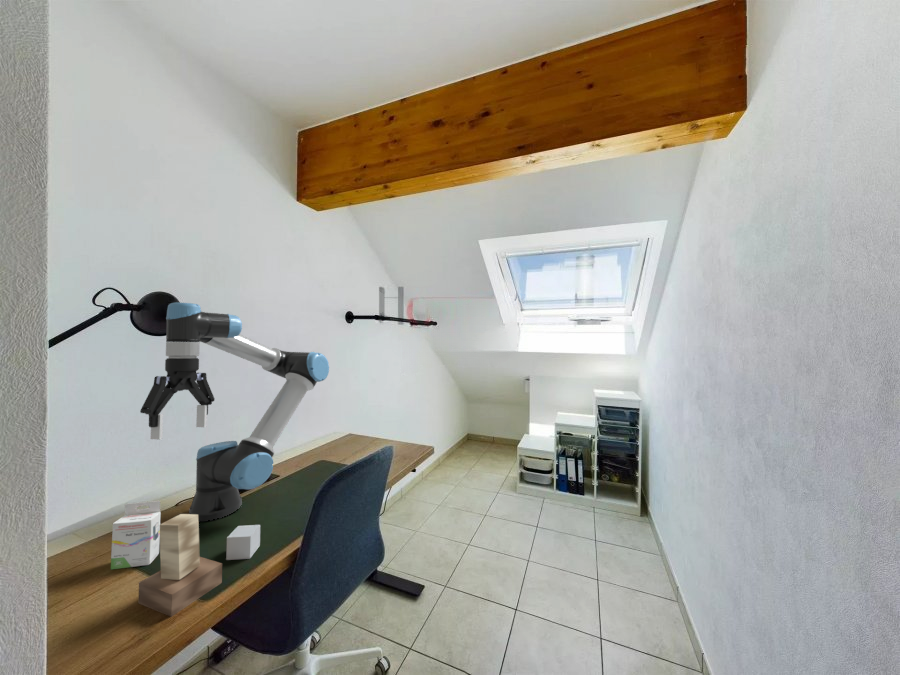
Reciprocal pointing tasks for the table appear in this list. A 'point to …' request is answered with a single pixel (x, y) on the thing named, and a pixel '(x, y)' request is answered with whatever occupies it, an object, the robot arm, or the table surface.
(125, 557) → the ink box
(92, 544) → the table surface
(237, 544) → the grey plastic block
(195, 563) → the oak column
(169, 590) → the walnut base block
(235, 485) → the robot arm
